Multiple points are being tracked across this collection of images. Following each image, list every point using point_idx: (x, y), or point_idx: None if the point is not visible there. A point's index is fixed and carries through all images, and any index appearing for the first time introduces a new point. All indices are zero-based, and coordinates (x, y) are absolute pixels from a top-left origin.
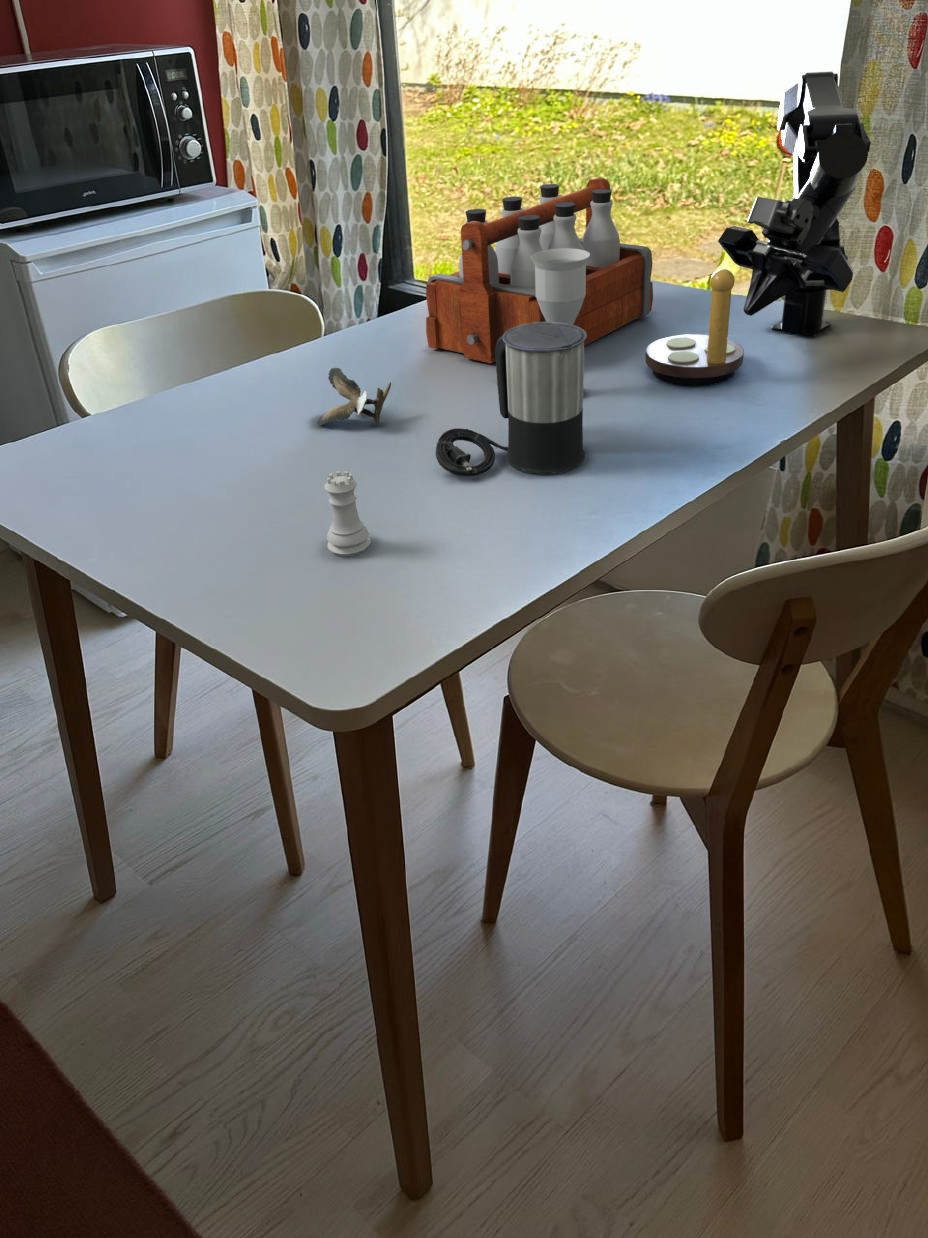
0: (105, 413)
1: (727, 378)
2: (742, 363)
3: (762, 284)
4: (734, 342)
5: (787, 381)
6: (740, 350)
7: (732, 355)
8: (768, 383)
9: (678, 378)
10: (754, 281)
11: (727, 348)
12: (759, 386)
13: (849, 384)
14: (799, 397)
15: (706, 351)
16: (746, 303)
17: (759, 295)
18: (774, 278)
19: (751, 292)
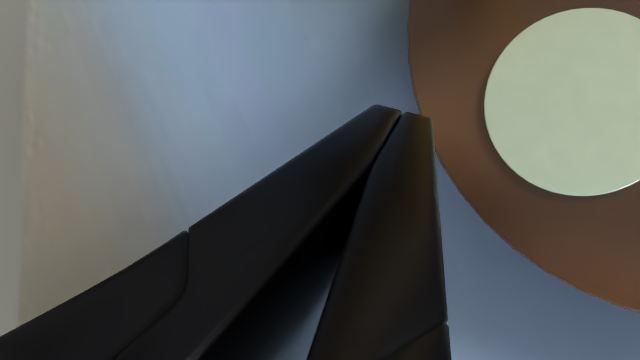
0: None
1: None
2: None
3: (227, 282)
4: (561, 264)
5: (241, 166)
6: (460, 155)
7: (459, 57)
8: (292, 105)
9: None
10: (374, 349)
11: (535, 125)
12: (307, 53)
13: (61, 251)
14: (141, 40)
15: (634, 19)
16: (415, 149)
17: (266, 188)
18: (23, 329)
19: (386, 233)
